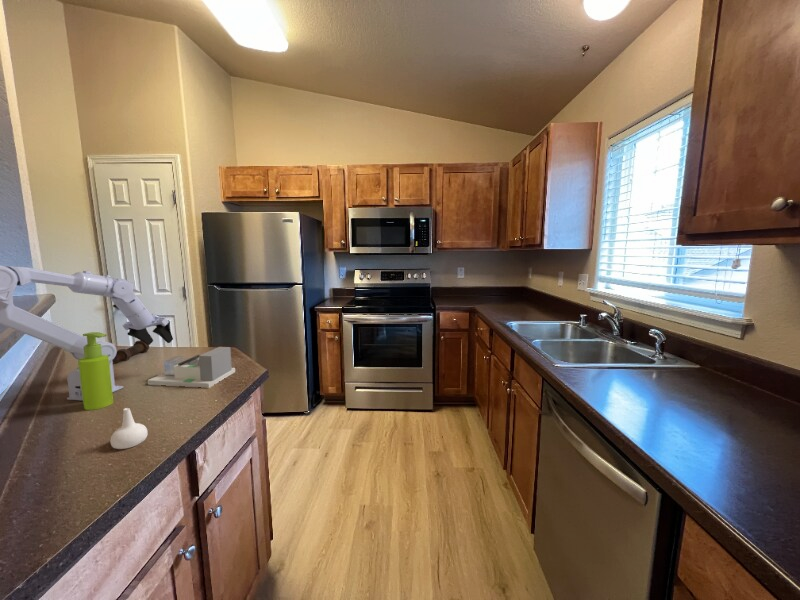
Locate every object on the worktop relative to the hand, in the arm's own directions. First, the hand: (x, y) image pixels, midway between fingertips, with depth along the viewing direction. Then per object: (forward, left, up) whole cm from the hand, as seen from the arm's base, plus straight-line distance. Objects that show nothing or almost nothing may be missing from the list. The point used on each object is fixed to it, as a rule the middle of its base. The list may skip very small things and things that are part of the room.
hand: (160, 341), depth 111 cm
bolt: (+13, +25, -11) cm, 30 cm away
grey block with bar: (-4, -10, -9) cm, 14 cm away
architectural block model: (-4, -14, -11) cm, 18 cm away
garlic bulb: (-40, -26, -11) cm, 49 cm away
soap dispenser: (-25, -3, -11) cm, 27 cm away
